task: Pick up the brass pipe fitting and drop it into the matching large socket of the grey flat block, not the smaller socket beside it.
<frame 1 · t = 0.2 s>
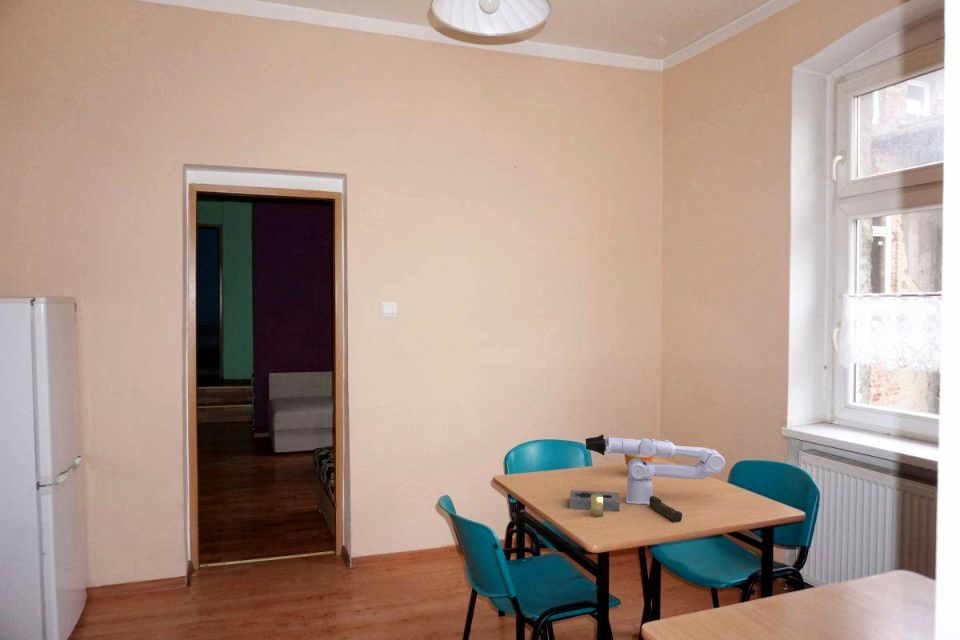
hand: (585, 443, 248), 21 cm above the table, tool horizontal, fingers open, 7 cm apart
grey flat block: (594, 505, 241), on the table
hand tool: (661, 515, 230), on the table
brass fitting: (597, 515, 229), on the table
reusable coffee cup: (638, 475, 283), on the table
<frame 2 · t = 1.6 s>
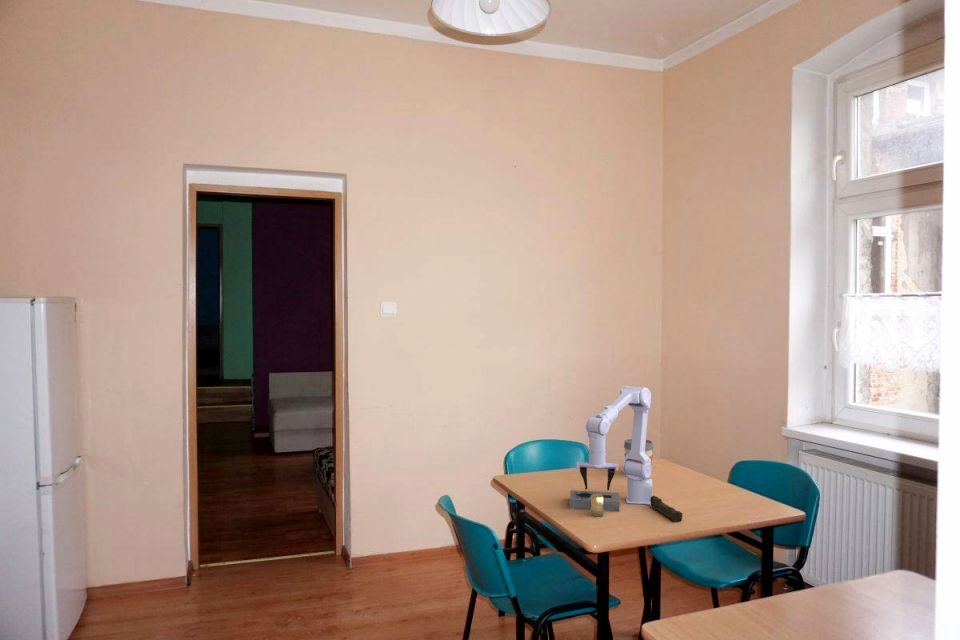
hand: (597, 489, 228), 9 cm above the table, tool pointing down, fingers open, 7 cm apart
nothing on the table moved.
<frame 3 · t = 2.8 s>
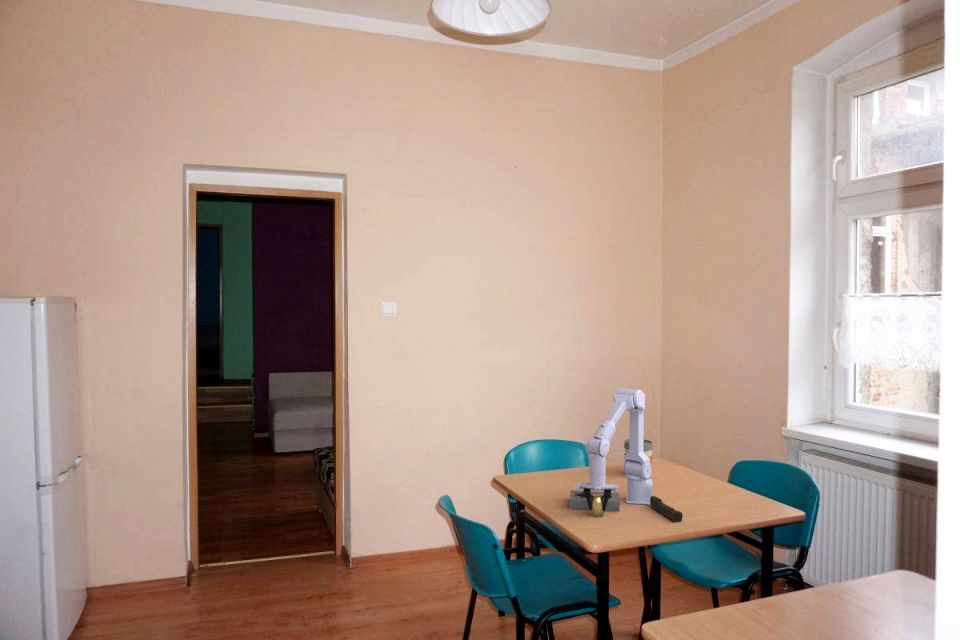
hand: (597, 510, 229), 2 cm above the table, tool pointing down, fingers closed on brass fitting, 4 cm apart
brass fitting: (597, 515, 229), on the table, touching gripper
everything else where it was.
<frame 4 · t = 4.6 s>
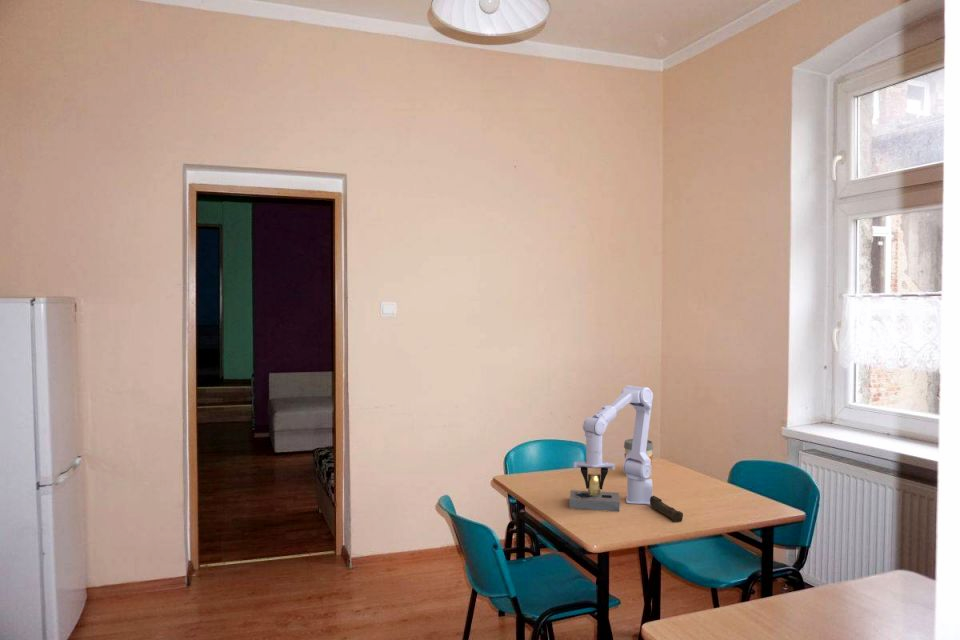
hand: (594, 488, 232), 9 cm above the table, tool pointing down, fingers closed on brass fitting, 4 cm apart
brass fitting: (594, 493, 232), point 7 cm above the table, touching gripper
everything else where it was.
when the fingers open (5 cm above the table, at t = 6.5 s): brass fitting drops 3 cm, resting in grey flat block.
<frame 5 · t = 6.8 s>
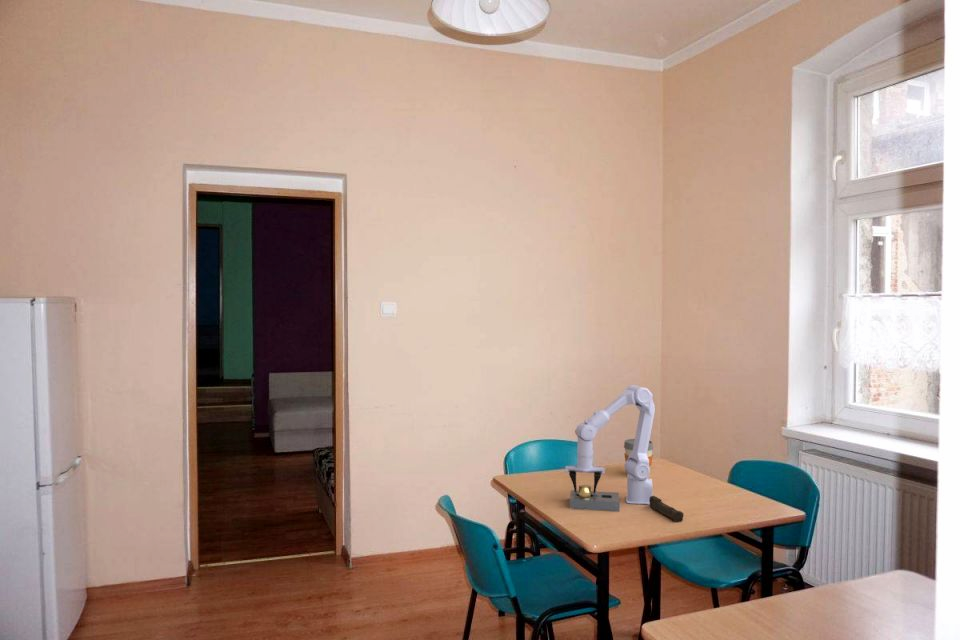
hand: (585, 491, 241), 5 cm above the table, tool pointing down, fingers open, 6 cm apart
brass fitting: (584, 504, 241), resting in grey flat block
everything else where it was.
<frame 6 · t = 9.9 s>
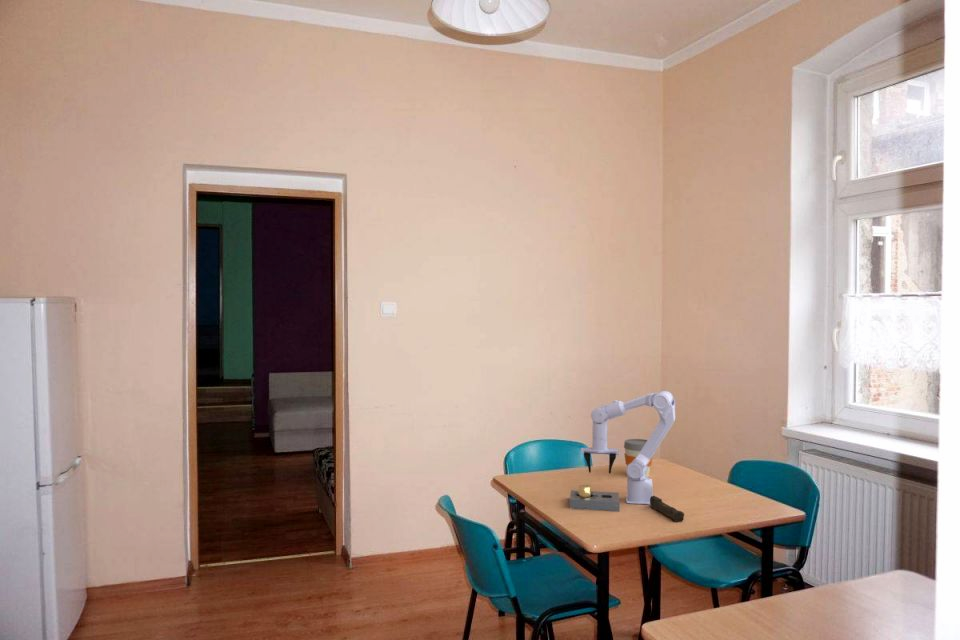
hand: (599, 472, 252), 9 cm above the table, tool pointing down, fingers open, 7 cm apart
nothing on the table moved.
at the end: brass fitting 0.2 cm from the target spot on the grey flat block, point 0.0 cm above the grey flat block's base; brass fitting tilted 0°; the gripper is holding nothing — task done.
